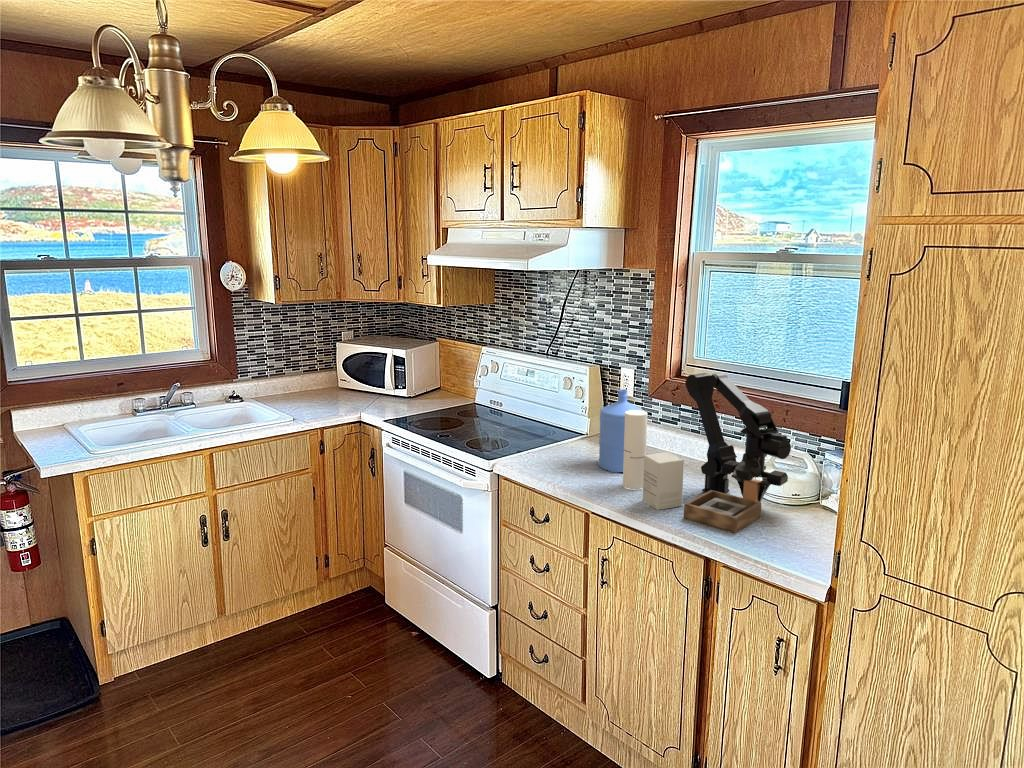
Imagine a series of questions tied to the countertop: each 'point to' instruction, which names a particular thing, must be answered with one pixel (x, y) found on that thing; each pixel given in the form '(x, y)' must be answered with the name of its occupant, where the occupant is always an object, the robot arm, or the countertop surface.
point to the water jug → (613, 433)
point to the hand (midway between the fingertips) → (751, 499)
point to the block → (751, 490)
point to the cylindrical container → (634, 448)
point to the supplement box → (663, 480)
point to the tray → (722, 517)
